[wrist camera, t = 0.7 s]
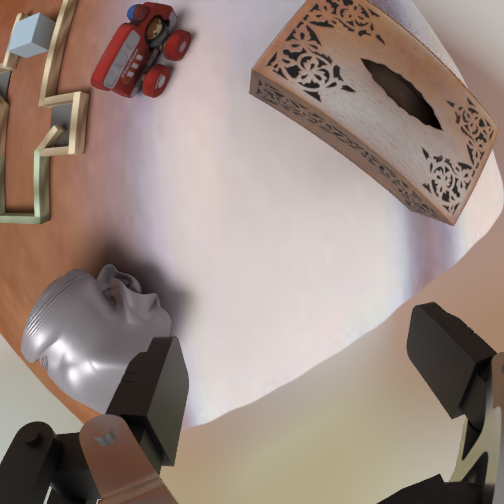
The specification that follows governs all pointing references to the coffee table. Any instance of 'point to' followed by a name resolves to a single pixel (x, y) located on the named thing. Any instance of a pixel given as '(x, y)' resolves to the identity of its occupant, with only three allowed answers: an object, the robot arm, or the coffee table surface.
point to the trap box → (62, 121)
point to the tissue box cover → (379, 103)
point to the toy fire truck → (141, 52)
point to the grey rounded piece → (92, 332)
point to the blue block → (32, 35)
